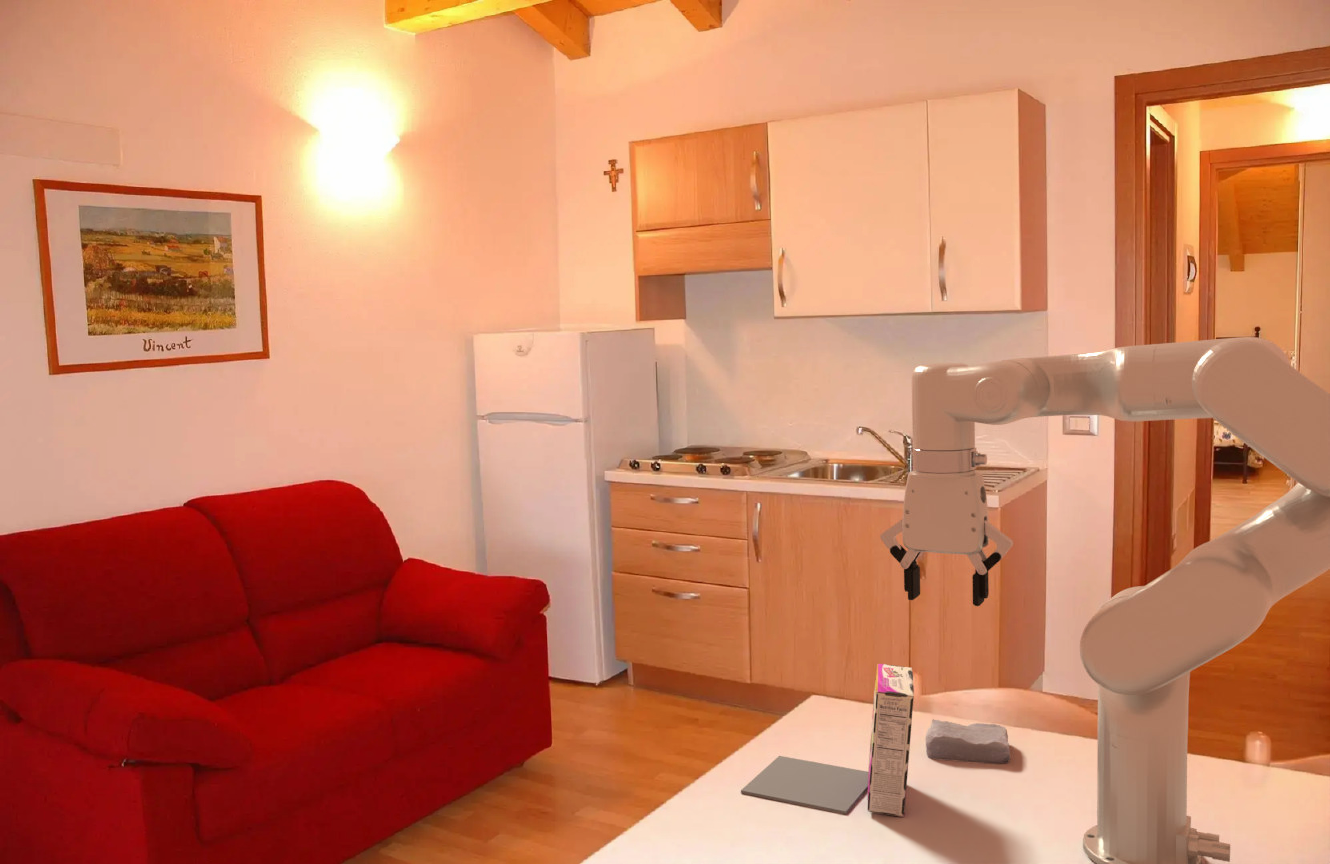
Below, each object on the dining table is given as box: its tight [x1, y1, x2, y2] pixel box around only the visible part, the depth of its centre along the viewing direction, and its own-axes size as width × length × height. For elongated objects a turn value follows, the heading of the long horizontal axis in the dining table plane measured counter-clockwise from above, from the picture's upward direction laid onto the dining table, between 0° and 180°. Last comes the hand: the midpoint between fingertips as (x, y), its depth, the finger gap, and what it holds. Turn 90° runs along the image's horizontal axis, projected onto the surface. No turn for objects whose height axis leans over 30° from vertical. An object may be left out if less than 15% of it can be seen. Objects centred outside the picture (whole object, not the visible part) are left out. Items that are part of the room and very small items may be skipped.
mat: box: [740, 755, 868, 815], centre depth 148 cm, size 15×13×1 cm
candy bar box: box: [867, 663, 915, 818], centre depth 142 cm, size 11×5×16 cm, turn 168°
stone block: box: [925, 719, 1011, 765], centre depth 158 cm, size 12×5×10 cm
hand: (945, 599), depth 136 cm, fingers open, 7 cm apart
